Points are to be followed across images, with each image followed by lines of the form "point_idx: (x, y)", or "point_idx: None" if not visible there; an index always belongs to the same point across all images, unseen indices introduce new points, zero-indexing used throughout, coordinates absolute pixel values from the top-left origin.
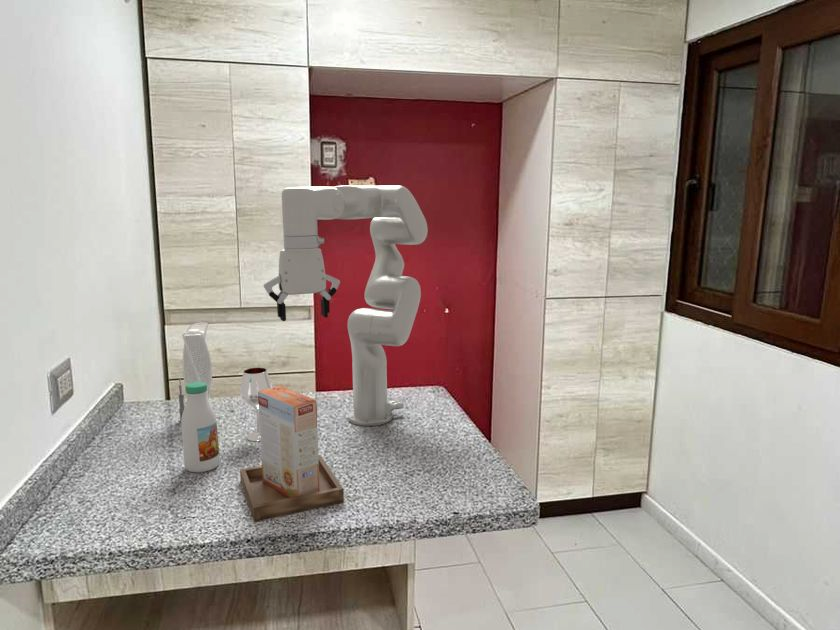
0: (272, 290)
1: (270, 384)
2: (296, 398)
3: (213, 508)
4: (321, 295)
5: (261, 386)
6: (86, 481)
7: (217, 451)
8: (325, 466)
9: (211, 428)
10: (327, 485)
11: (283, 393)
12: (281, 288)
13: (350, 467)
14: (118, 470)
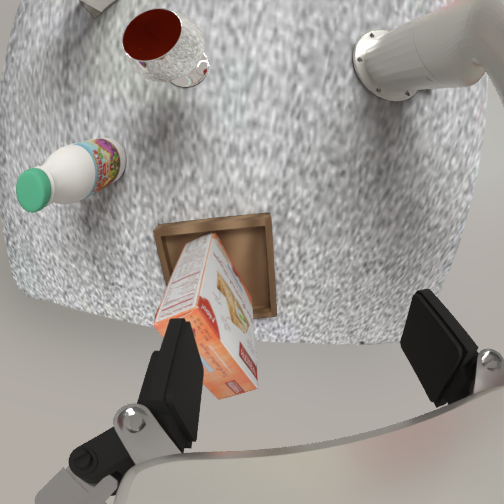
0: (103, 501)
1: (195, 51)
2: (225, 381)
3: (135, 276)
4: (475, 374)
5: (170, 71)
6: (10, 176)
7: (117, 171)
8: (270, 258)
9: (93, 190)
10: (265, 277)
11: (203, 357)
12: (139, 480)
13: (308, 228)
14: (26, 153)
